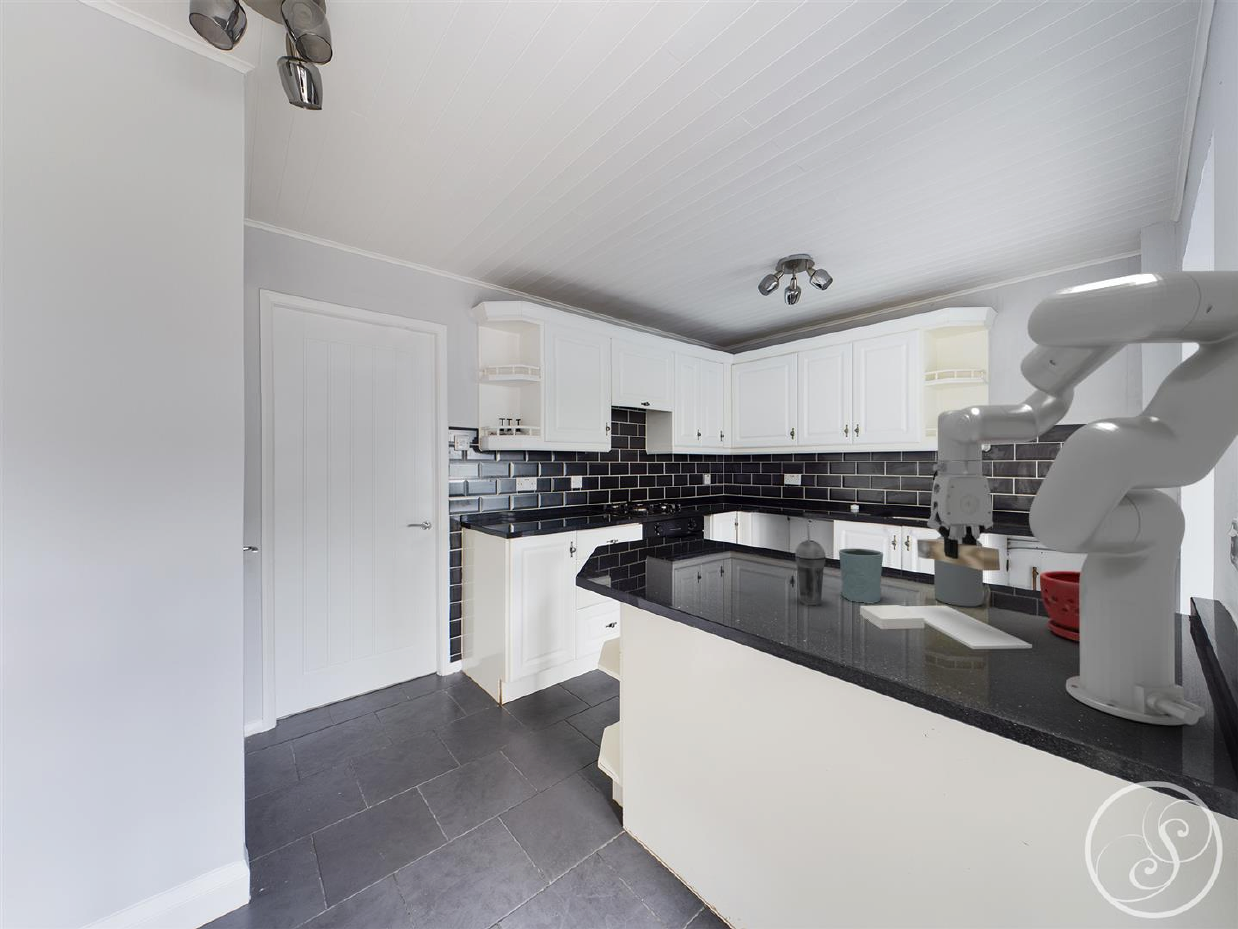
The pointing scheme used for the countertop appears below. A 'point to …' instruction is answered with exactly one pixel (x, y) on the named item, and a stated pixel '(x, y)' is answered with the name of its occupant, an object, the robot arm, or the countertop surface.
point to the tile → (892, 617)
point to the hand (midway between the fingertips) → (960, 556)
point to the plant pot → (1062, 602)
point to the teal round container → (861, 574)
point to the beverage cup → (810, 570)
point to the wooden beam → (960, 554)
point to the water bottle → (958, 580)
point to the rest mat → (966, 628)
